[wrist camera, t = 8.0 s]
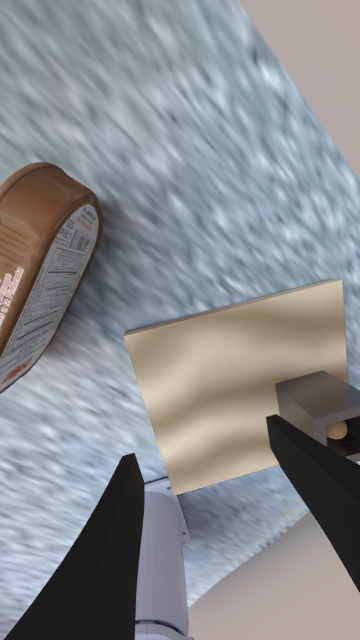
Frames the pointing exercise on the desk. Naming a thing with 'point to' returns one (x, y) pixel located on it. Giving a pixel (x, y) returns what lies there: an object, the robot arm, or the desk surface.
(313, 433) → the grey hollow cube
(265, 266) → the desk surface
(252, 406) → the board
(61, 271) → the tin
